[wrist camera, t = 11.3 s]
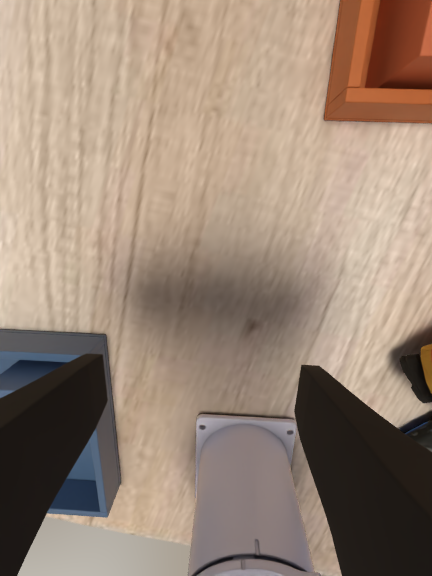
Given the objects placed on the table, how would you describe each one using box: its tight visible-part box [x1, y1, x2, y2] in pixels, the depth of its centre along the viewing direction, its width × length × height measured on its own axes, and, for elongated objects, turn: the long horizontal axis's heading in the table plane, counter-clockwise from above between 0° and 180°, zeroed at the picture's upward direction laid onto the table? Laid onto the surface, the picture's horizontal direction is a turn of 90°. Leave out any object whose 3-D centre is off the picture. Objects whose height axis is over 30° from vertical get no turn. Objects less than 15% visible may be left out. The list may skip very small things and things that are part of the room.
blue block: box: [0, 360, 68, 398], centre depth 19 cm, size 4×4×4 cm
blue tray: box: [0, 329, 121, 517], centre depth 21 cm, size 15×13×3 cm
